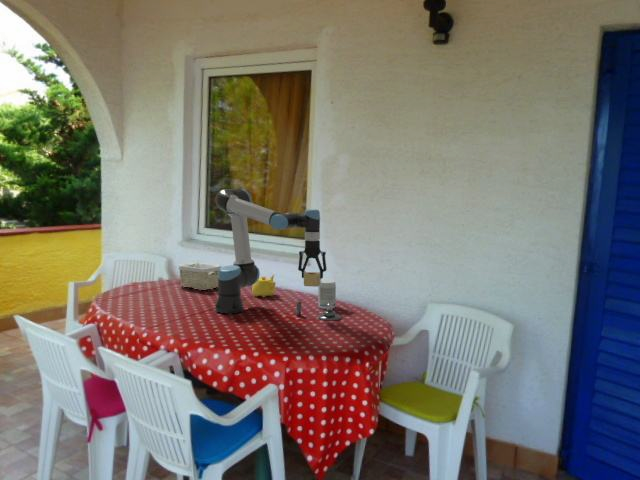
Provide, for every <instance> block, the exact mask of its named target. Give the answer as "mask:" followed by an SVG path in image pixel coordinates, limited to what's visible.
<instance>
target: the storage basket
mask: <svg viewBox="0 0 640 480" xmlns="http://www.w3.org/2000/svg"><path fill="white" fill-rule="evenodd" d="M222 267H223V266H222V265H218V264H211V263H204V262H199V261H196V262H190V263H183V264H179V266H178V270H179V278H180V286H181V285H184V286H189V287H193V288H197V289H203V290H205V289H211V288H215V287H218V272H219V269H220V268H222ZM211 290H212V289H211Z"/></svg>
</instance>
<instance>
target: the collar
mask: <svg viewBox="0 0 640 480" xmlns="http://www.w3.org/2000/svg"><path fill="white" fill-rule="evenodd" d="M319 272H320V271H318V272H317V271H316V272H315V271H314V272H313V271H311V272H310V271H306V273H305V274H304V278H303V286H304V287H314V288H315V287H317V288H318V286H319Z"/></svg>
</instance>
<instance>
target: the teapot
mask: <svg viewBox="0 0 640 480" xmlns="http://www.w3.org/2000/svg"><path fill="white" fill-rule="evenodd" d="M274 277H275V274H273V275H271V277H270V278H269V277H266V276H264V275H263V276H261V277H259V279H258V281H257V282H256V283H255V284H253V285H252V288H251V291H252V292H251V293H252V294H253V295H254V297H255V296H258V297H259V296H260V297H261V298H262V297H266V298H267V296H268V297H272V296H273V294H274V293H275V292H276V288H275V287H276V285H277V283H276V281H274Z"/></svg>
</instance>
